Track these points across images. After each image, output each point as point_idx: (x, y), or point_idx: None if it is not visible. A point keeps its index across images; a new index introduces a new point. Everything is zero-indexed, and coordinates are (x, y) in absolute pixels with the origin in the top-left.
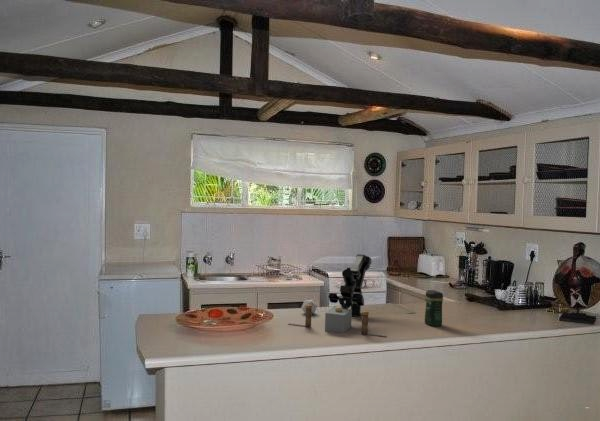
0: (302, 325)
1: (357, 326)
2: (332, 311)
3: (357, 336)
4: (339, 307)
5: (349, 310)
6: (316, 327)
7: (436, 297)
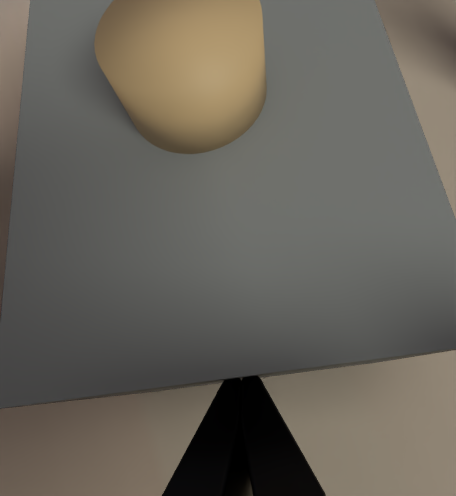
0: None
1: (82, 444)
2: (287, 10)
3: (11, 113)
4: (160, 21)
5: (24, 277)
6: (444, 127)
7: None
